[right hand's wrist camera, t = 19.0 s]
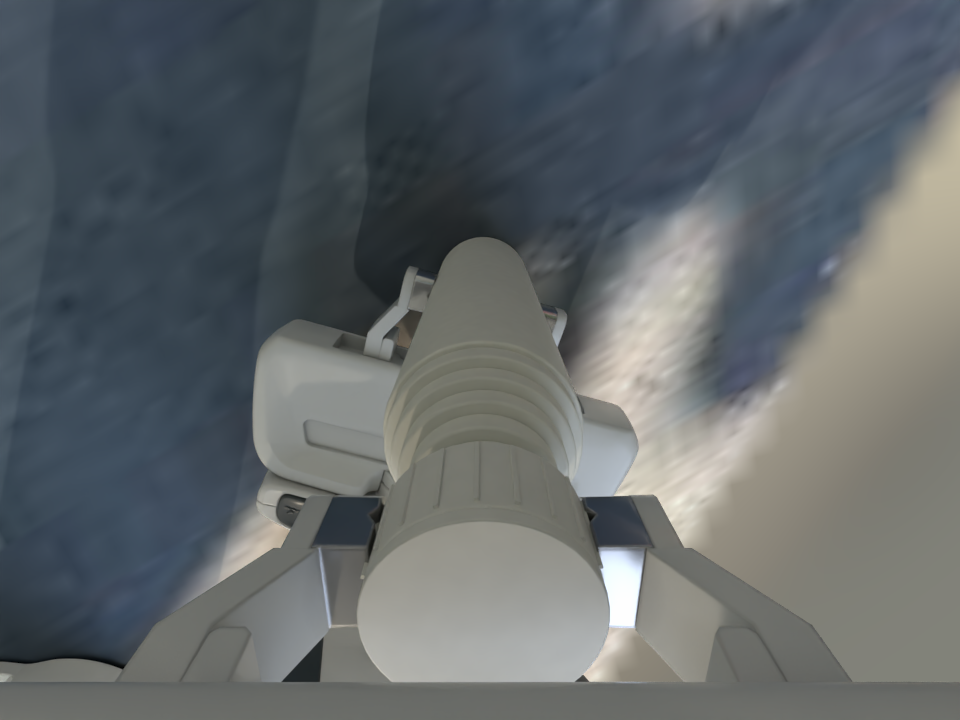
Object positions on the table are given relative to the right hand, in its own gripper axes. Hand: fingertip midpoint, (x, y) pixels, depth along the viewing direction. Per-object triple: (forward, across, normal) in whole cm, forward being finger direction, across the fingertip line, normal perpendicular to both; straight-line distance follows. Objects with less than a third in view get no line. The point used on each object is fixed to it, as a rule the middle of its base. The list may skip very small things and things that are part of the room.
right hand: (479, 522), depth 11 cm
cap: (-2, 0, 0) cm, 2 cm away
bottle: (+23, 0, 0) cm, 23 cm away
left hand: (+17, 0, -1) cm, 17 cm away
